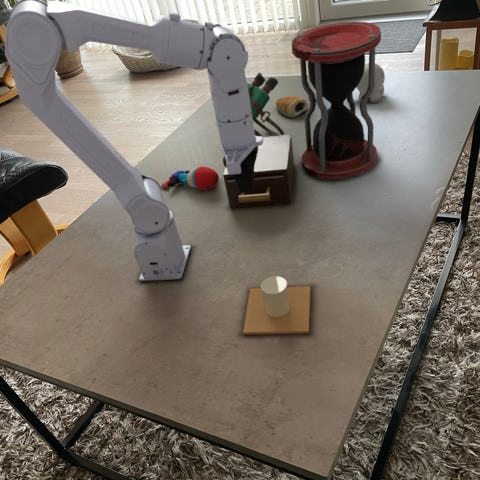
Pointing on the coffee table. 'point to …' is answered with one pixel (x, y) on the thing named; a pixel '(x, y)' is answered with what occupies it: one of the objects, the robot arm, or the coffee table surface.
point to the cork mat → (287, 324)
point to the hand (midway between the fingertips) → (247, 190)
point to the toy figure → (194, 178)
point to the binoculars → (262, 102)
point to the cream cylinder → (275, 296)
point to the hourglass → (337, 97)
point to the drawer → (259, 191)
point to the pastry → (291, 106)
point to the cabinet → (273, 161)
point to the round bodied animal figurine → (377, 85)
